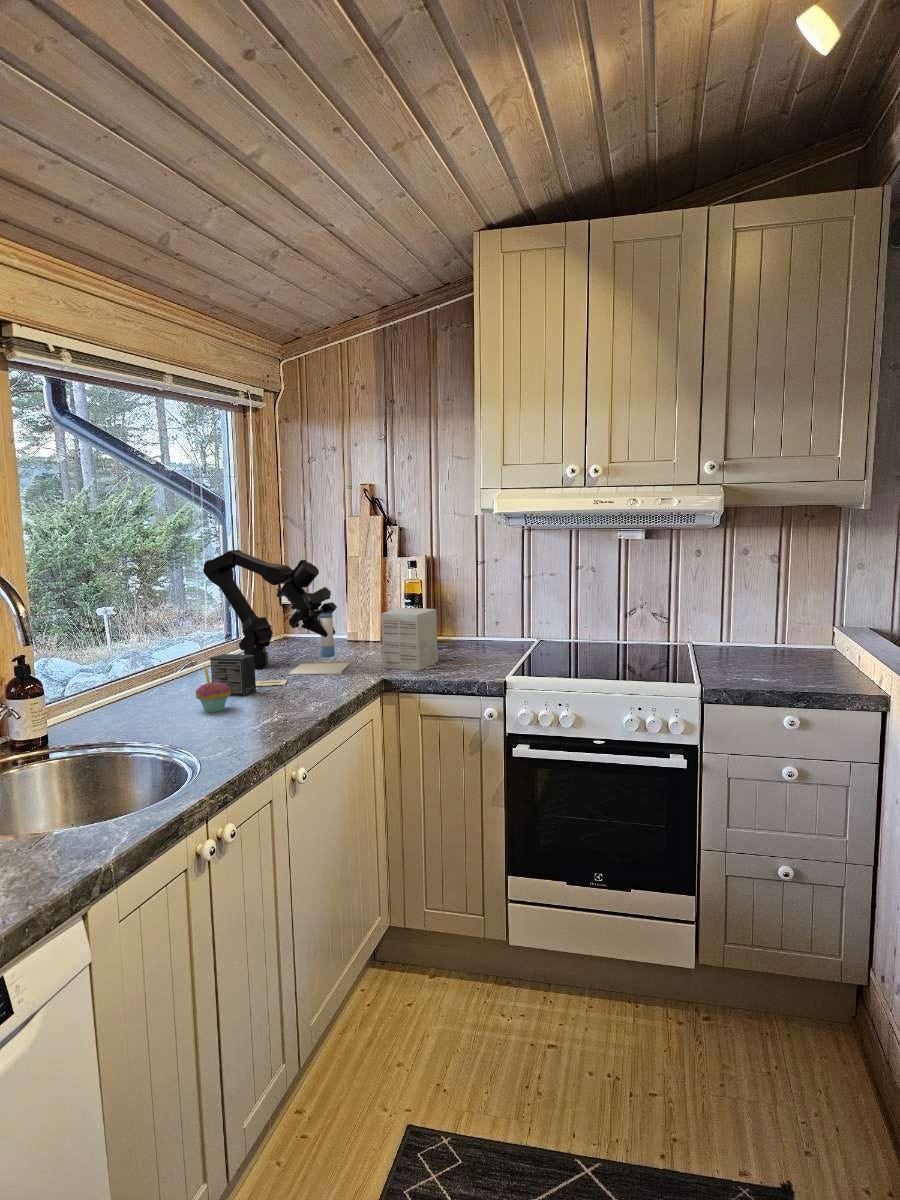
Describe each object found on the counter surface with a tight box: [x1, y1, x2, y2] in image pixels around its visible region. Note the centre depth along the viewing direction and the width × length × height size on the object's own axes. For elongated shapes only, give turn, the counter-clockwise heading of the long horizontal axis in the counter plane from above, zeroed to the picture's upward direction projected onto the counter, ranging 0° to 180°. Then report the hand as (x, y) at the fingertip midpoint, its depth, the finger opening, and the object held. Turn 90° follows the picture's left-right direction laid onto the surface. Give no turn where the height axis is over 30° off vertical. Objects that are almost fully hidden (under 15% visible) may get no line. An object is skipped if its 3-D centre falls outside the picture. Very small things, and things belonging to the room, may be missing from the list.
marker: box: [320, 613, 336, 658], centre depth 237 cm, size 4×4×13 cm
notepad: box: [288, 661, 352, 675], centre depth 245 cm, size 16×16×1 cm
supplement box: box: [380, 607, 439, 672], centre depth 246 cm, size 13×13×18 cm
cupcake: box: [195, 664, 232, 713], centre depth 198 cm, size 9×8×12 cm
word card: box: [255, 679, 288, 687], centre depth 226 cm, size 9×6×1 cm, turn 96°
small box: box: [209, 653, 257, 697], centre depth 216 cm, size 11×6×10 cm, turn 71°
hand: (330, 634), depth 237 cm, fingers closed on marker, 4 cm apart
